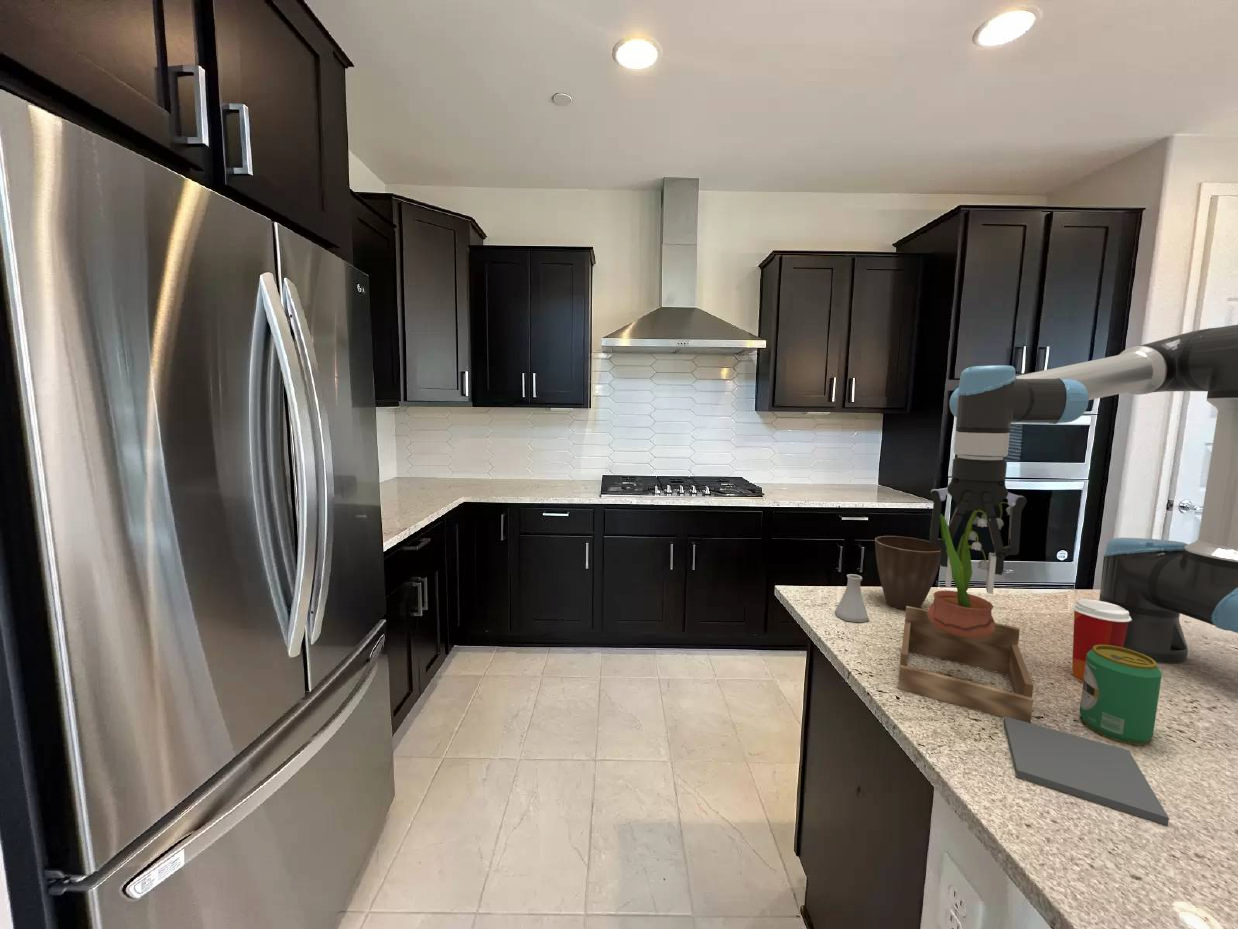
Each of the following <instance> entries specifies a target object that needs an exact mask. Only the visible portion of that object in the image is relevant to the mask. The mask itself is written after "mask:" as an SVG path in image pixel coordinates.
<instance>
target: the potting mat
mask: <svg viewBox="0 0 1238 929" xmlns="http://www.w3.org/2000/svg"><path fill="white" fill-rule="evenodd" d="M1002 721H1003V726H1004V730H1005V734H1006V738H1007V743H1008V747H1009V752H1010V755H1011V760H1012V764H1013V768H1014V773H1015V776H1016V778H1018V779H1021V780H1025V781H1028V782H1031V783H1034V784H1038V785H1041V786H1044V787H1045V788H1050V789H1052V790H1056V791H1059V792H1062V793H1065V794H1068V795H1071V796H1074V797H1078V798H1081V799H1084V800H1087V801H1090V802H1093V803H1096V804H1100V805H1103V806H1106V807H1109V808H1112V809H1115V810H1118V811H1121V812H1123V813H1127V814H1130V815H1133V816H1137V817H1139V818H1142V819H1146V820H1149V821H1152V822H1154V823H1158V824H1161V825H1164V826H1169V820H1170V817H1169V816H1168V813H1167V811H1166V810H1165V809H1164V807H1163V805H1162V803H1161V802H1160V800H1159V799H1158V797H1157V795H1156V794H1155V792H1154V790H1153V788H1152V786H1151V785H1150V783H1149V782H1148V780H1147V778H1146V777H1145V774H1143V772H1142V770H1141V768H1140V767H1139V765H1138V763H1137V762H1136V760H1135V759H1134V757H1133V755H1132V753H1131V752H1130V750H1129V749H1126V748H1123V747H1119V746H1116V745H1111V744H1108V743H1104V742H1101V741H1098V740H1094V739H1089V738H1087V737H1083V736H1078V735H1075V734H1072V733H1068V732H1064V731H1062V730H1061V731H1060V730H1058V729H1057V730H1056V729H1052V728H1050V727H1046V726H1042V725H1039V724H1034V723H1032V722H1031V723H1028V722H1024V721H1021V720H1017V719H1013V718H1010V717H1006V716H1004V717H1003V720H1002Z"/></svg>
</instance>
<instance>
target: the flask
mask: <svg viewBox="0 0 1238 929" xmlns="http://www.w3.org/2000/svg"><path fill="white" fill-rule="evenodd" d="M846 577H847V585H846V587H845V590H844V593H843V595H842V597H841V599H840V601H839V603H838V605H836V607H835V610H834V613H835V615H836V617H837V618H839V619H842V620H844V621H846V622H852V623H865V622H869V621H870V618H869V615H868V612H867V609H866V606H865V603H864V599H863V595H862V589H861V582H862V581H863V577H862V576H861V575H858V574H856V573H855V574H852V573H849V574H846Z"/></svg>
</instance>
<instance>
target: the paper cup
mask: <svg viewBox="0 0 1238 929" xmlns="http://www.w3.org/2000/svg"><path fill="white" fill-rule="evenodd" d="M1071 608H1072V610H1073V611H1074V612H1073V614H1074V615H1073V631H1072V632H1073V633H1072V634H1073V635H1072V636H1073V637H1072V658H1071V660H1072V662H1071V664H1072V665H1071V666H1072V667H1071V668H1072V669H1071V672H1072V673H1071V674H1072V676H1073V677H1074V678H1075V679H1078V680H1079V681H1080V682H1083V680H1084V672H1085V664H1086V656H1087V653H1088V652H1089V651H1090V650H1092V649H1093V646H1095V645H1111V646H1117V647H1121V648H1123V644H1124V640H1125V635H1126V631H1127V626H1128V622H1129V621H1131V620H1132V619H1131V617H1130V616H1129V612H1128V611H1127V610H1125V609H1124V608H1122V607H1120V606H1118V605H1115V604H1111V603H1107V602H1103V601H1099V599H1098V600H1095V599H1089V598H1088V599H1087V598H1083V599H1082V598H1081V599H1077V601H1076V602H1075V603H1074V604H1073V605H1072V607H1071Z"/></svg>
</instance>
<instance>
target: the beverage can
mask: <svg viewBox="0 0 1238 929" xmlns="http://www.w3.org/2000/svg"><path fill="white" fill-rule="evenodd" d="M1162 677H1163V674H1162V671H1161V670H1160V668H1159V667H1158V662H1156V661H1154V660H1153V659H1152V658H1150V657H1148V656H1146V655H1144V654H1141V653H1138V652H1136V651H1132V650H1129V649H1126V648H1121V647H1117V646H1111V645H1095V646H1093V649H1092V650H1090V651H1089V652H1088V653H1087V656H1086V664H1085V672H1084V680H1083V681H1082V689H1081V695H1080V696H1081V698H1080V704H1079V712H1078V713H1079V715H1080V716H1081V718H1082V722H1083V723H1084V725H1085V726H1087V727H1088V728H1089V729H1090V730H1092V731H1093V732H1096V733H1097V734H1099V735H1101V736H1103V737H1105V738H1108V739H1111V740H1113V739H1114V741H1116V740H1117V742H1120V743H1125V744H1129V745H1136V746H1139V745H1140V746H1141V745H1145V743H1146V744H1147V743H1148V741H1149V740H1151V739H1152V738H1153V737H1154V731H1155V724H1156V718H1157V717H1156V716H1157V711H1158V704H1159V696H1160V689H1161V683H1162V682H1161V681H1162Z"/></svg>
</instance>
